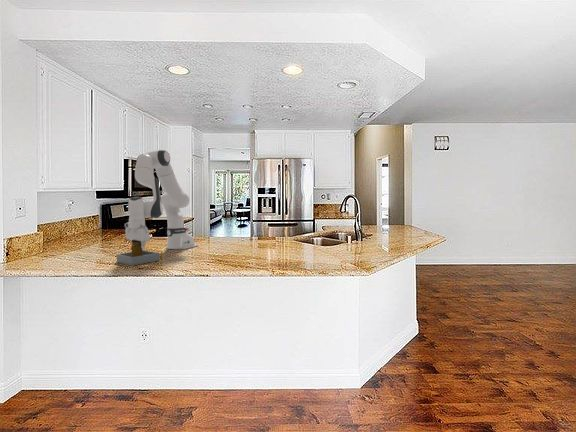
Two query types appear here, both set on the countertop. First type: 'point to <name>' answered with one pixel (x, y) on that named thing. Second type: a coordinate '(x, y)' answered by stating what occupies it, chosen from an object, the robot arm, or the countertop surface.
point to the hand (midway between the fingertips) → (138, 247)
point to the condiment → (136, 248)
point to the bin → (137, 258)
